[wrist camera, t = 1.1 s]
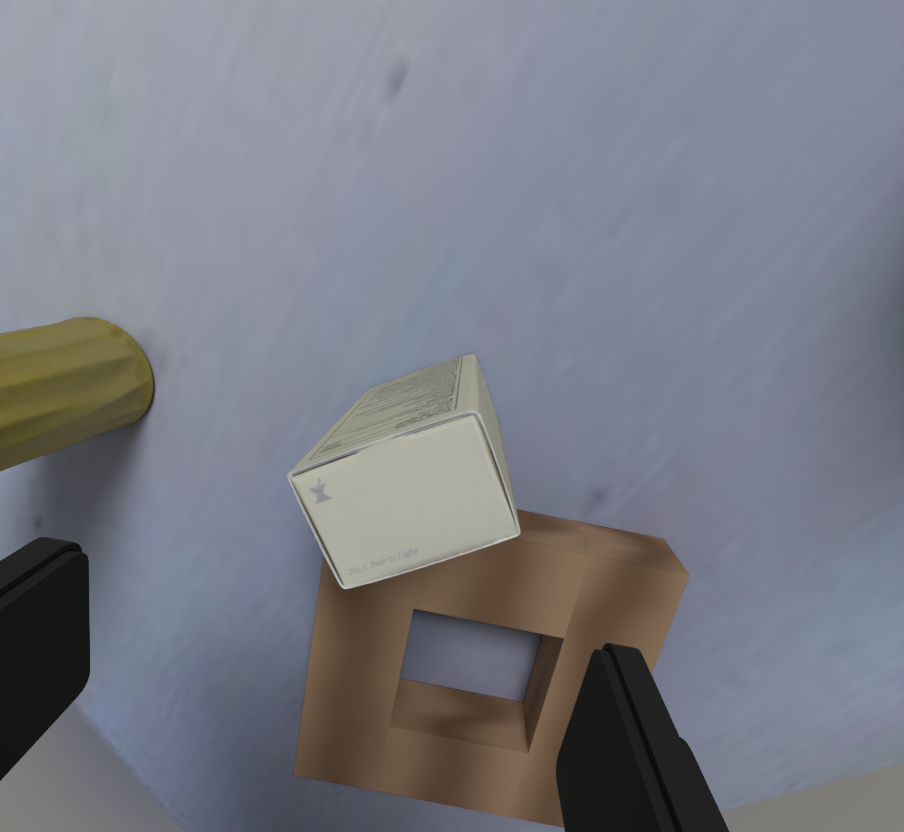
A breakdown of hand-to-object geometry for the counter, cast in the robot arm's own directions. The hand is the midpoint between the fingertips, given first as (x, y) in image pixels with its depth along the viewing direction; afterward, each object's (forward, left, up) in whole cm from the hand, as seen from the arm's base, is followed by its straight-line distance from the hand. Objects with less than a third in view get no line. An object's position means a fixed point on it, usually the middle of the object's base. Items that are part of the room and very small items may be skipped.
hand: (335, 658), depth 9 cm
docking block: (-5, +14, -18) cm, 23 cm away
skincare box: (0, 0, -18) cm, 18 cm away
